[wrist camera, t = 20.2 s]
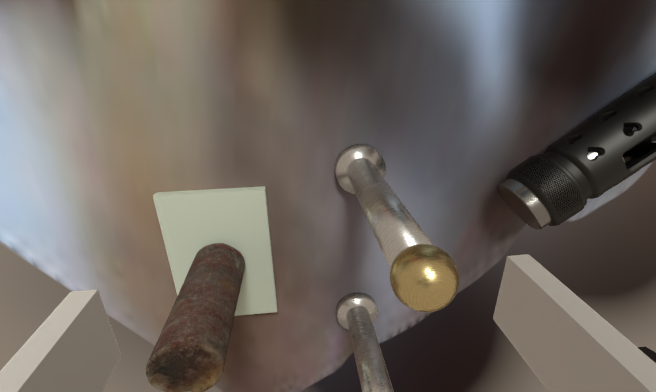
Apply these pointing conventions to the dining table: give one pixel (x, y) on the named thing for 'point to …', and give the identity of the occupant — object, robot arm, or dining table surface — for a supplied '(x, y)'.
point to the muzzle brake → (585, 160)
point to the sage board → (221, 237)
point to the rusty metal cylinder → (199, 323)
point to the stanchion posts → (389, 262)
